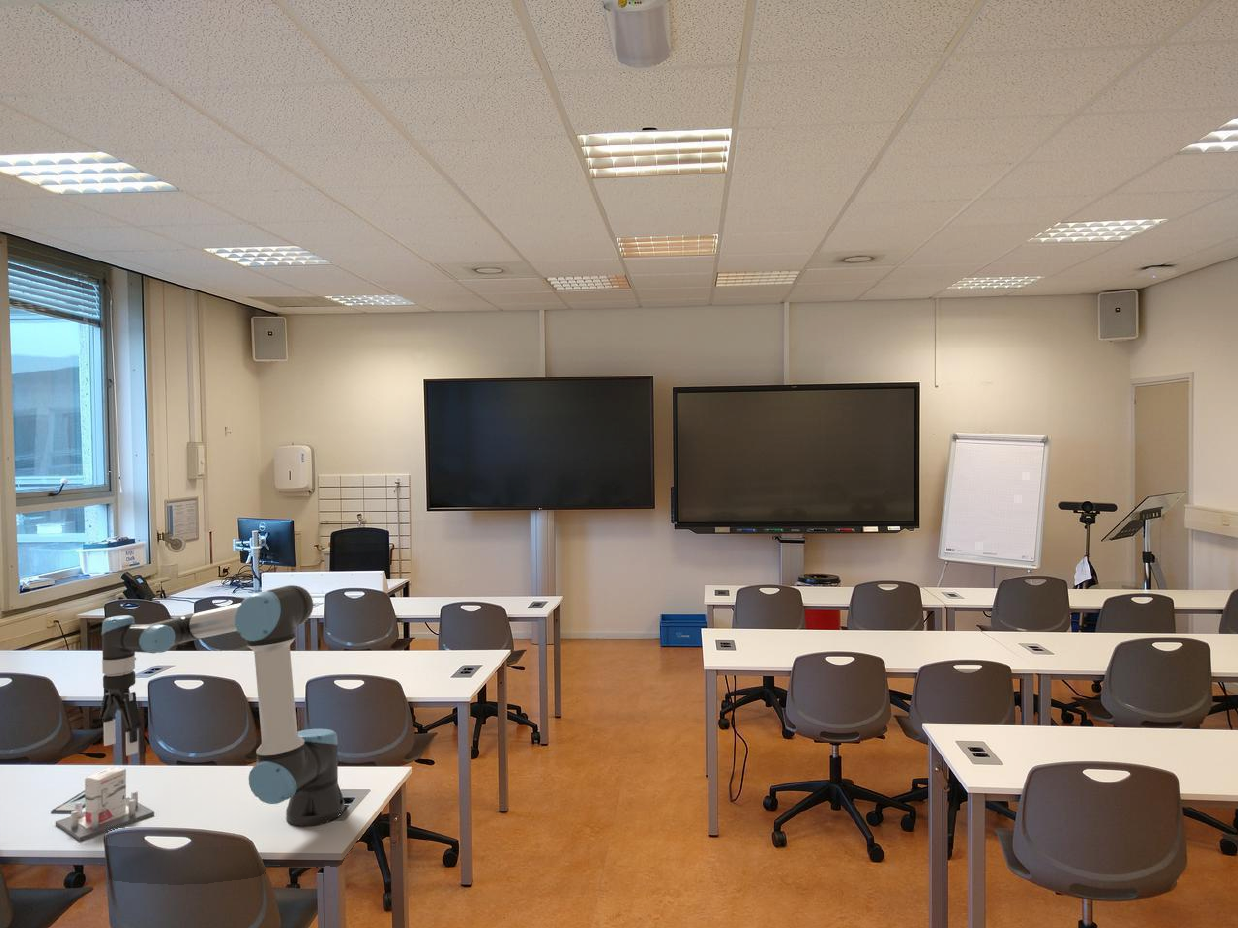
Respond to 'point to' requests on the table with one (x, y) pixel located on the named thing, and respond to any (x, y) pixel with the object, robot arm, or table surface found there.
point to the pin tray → (85, 830)
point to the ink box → (105, 793)
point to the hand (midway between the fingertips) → (120, 749)
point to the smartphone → (70, 804)
